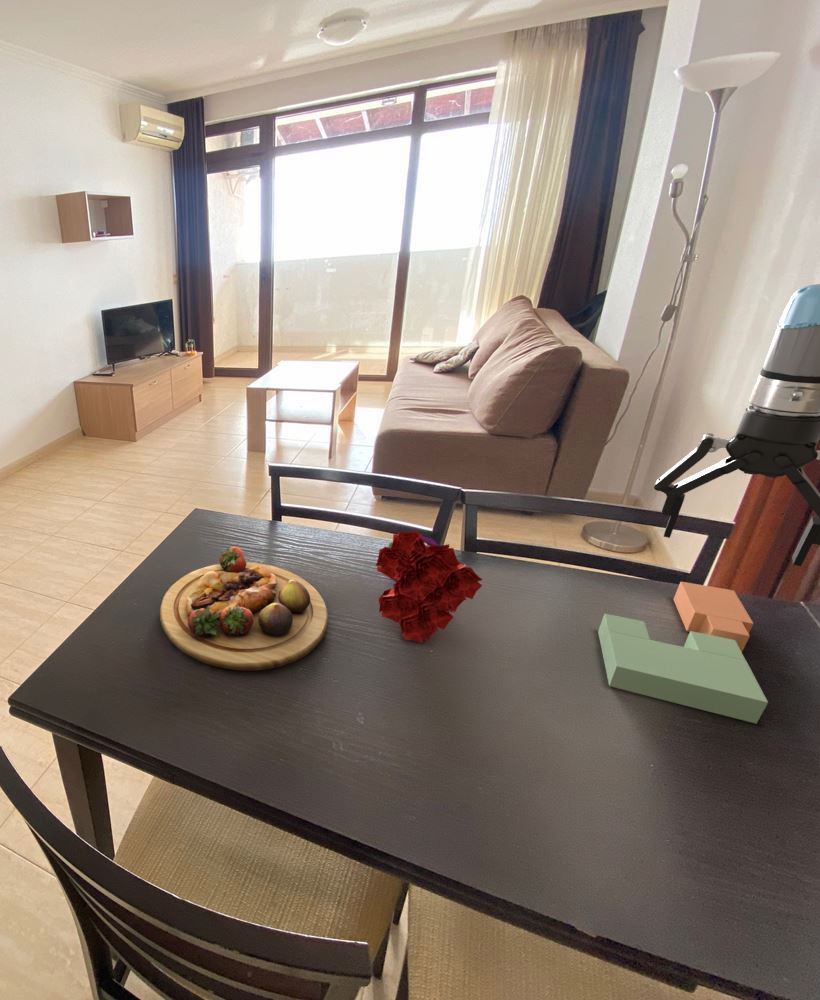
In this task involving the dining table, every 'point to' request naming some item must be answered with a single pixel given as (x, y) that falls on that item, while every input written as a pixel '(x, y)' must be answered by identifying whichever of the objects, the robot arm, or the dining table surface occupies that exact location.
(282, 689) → the dining table surface
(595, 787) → the dining table surface
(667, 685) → the green pad
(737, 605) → the peach pad
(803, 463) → the robot arm
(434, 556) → the bouquet
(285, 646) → the wooden plate
